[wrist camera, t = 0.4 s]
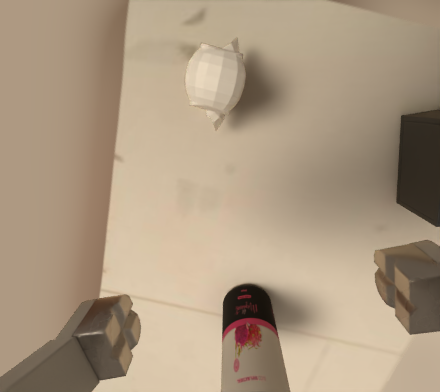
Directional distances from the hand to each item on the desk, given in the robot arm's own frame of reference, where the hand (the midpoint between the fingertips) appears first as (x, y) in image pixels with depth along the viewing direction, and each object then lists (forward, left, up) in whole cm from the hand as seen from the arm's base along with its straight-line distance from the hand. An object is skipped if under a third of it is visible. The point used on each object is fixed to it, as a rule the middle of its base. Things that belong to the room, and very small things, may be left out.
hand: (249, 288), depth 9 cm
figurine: (-7, -1, -23) cm, 24 cm away
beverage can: (+21, -1, -23) cm, 31 cm away
